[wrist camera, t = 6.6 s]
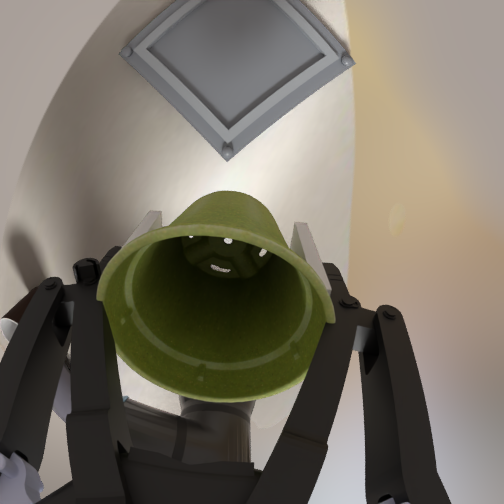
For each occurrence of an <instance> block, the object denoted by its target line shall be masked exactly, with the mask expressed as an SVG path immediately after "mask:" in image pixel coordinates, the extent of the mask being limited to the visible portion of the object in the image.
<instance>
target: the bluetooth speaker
mask: <svg viewBox="0 0 504 504" xmlns="http://www.w3.org/2000/svg"><path fill="white" fill-rule="evenodd" d="M52 410H53V411H54V412H55V413H56V414H57V415H58V416H59V417H60V418H61V419H62V420H63V421H64V422H65V423H66V416H67V414H70V413H71V383H70V370H69V369H68V367H67V366H66V364H65V363H64V365H63V369H62V372H61V376H60V380H59V383H58V387H57V391H56V395H55V399H54V403H53V408H52Z"/></svg>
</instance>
